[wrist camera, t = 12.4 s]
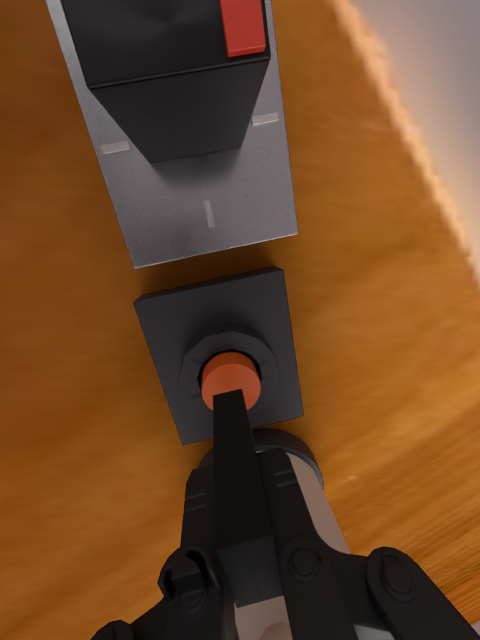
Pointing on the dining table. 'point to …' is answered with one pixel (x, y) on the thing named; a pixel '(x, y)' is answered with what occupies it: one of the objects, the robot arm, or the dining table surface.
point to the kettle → (271, 615)
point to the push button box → (222, 345)
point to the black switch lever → (173, 69)
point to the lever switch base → (193, 176)
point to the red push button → (230, 378)
